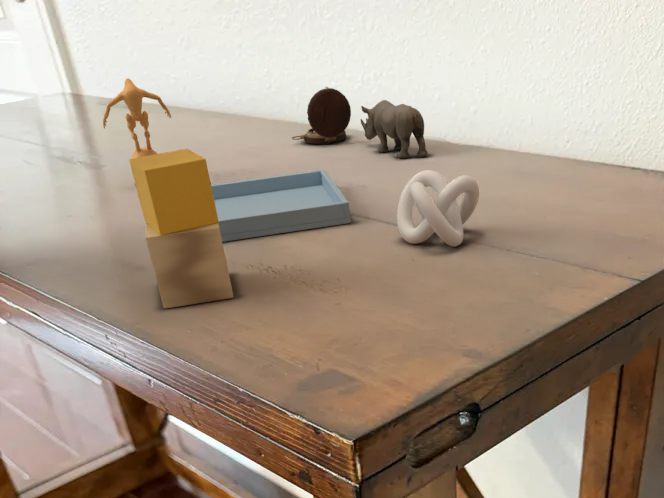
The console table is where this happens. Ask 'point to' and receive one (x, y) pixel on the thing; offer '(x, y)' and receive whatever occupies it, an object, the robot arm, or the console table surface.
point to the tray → (279, 205)
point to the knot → (436, 207)
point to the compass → (327, 117)
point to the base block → (189, 265)
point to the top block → (174, 191)
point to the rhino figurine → (395, 126)
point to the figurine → (136, 114)
